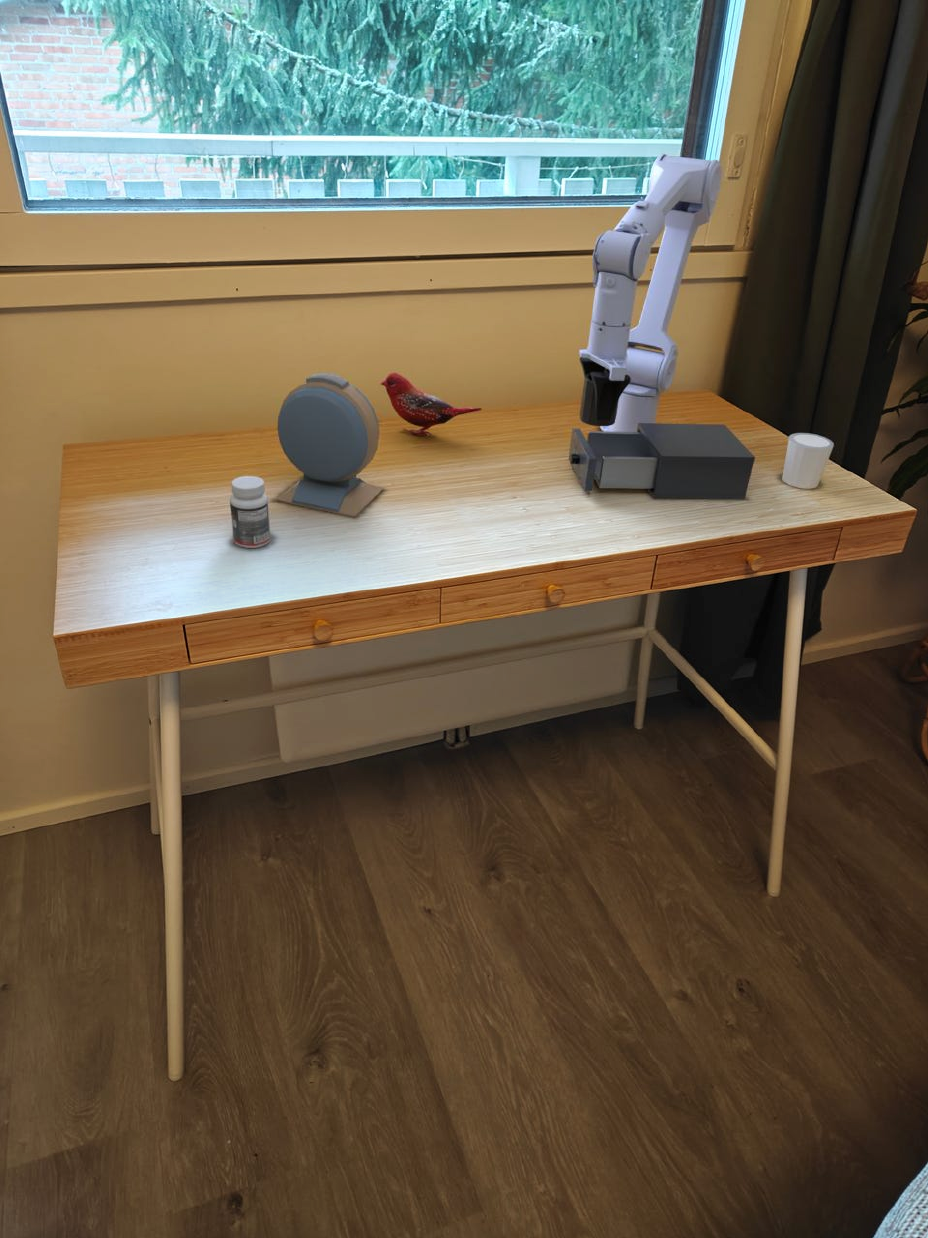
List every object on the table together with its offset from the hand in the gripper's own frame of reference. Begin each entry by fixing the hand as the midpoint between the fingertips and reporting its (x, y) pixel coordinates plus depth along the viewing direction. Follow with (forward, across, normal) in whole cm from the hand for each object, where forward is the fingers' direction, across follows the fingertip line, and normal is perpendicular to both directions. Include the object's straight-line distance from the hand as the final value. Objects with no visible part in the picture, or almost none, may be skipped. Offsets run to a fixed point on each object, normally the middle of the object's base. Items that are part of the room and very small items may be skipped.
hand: (598, 412), depth 136 cm
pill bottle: (+10, +22, -50) cm, 56 cm away
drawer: (+9, +2, +3) cm, 10 cm away
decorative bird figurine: (+10, -15, -24) cm, 30 cm away
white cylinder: (+10, +2, +34) cm, 36 cm away
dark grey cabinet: (+10, +2, +15) cm, 18 cm away
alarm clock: (+10, +8, -41) cm, 43 cm away
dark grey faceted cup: (+1, 0, 0) cm, 1 cm away
